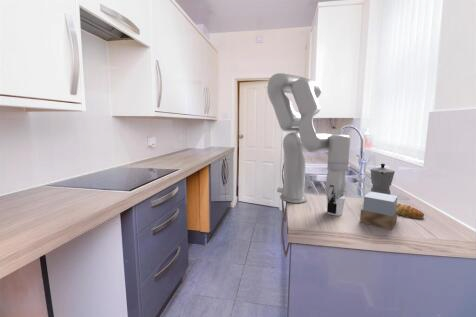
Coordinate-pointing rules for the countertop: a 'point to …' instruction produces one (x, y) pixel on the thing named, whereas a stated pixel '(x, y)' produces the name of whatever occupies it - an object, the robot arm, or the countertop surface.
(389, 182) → the coffeepot
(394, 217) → the walnut base block
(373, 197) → the grey top block
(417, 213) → the pastry
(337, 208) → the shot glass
